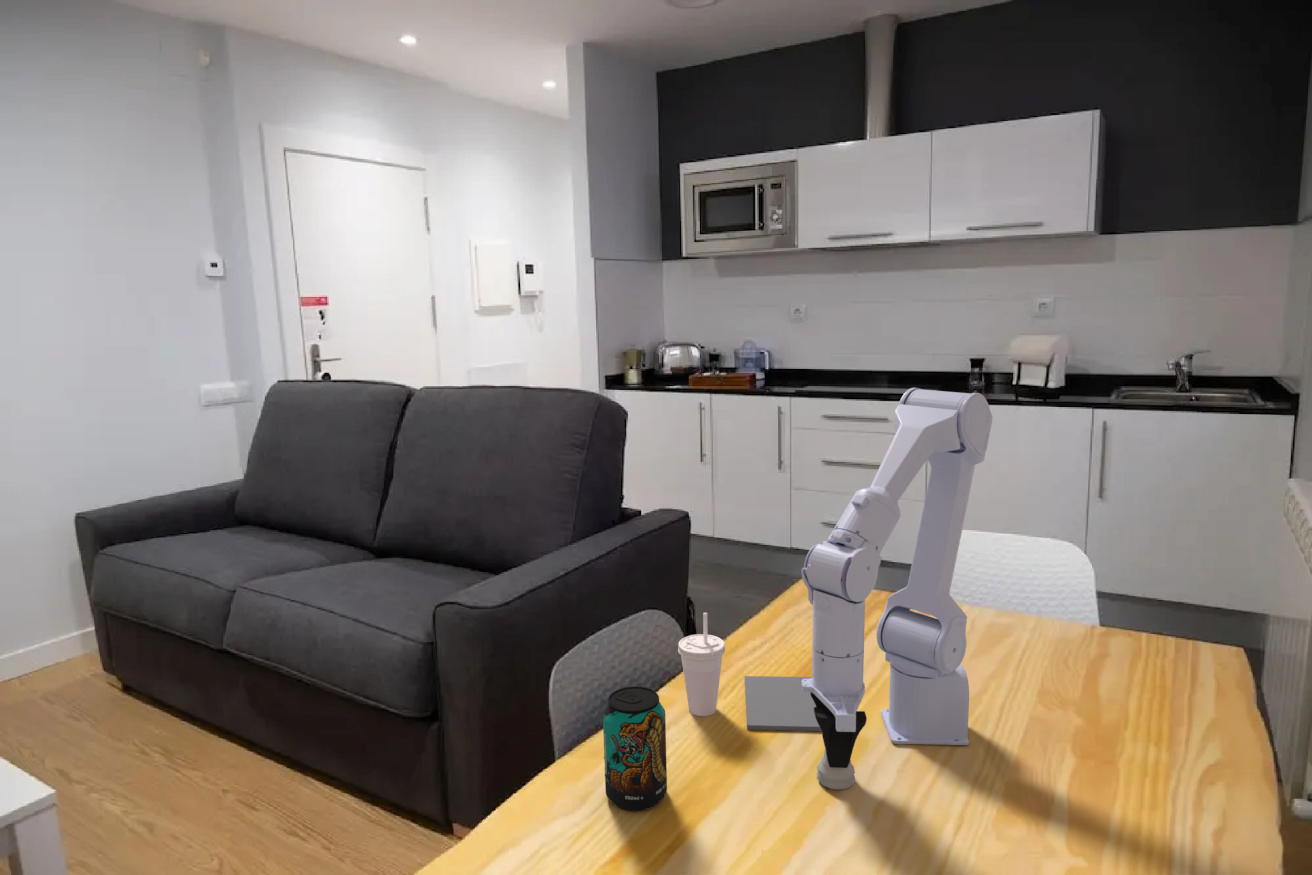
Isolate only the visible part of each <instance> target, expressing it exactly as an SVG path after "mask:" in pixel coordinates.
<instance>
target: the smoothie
mask: <svg viewBox="0 0 1312 875" xmlns="http://www.w3.org/2000/svg"><path fill="white" fill-rule="evenodd" d="M702 614H703V615H702V616H703V618H702V622H703V623H702V624H703V625H702V627H703V630H702V631H703V634H702V633H698V634H690V635H688V636H685V637H683V638H681V639H680V640H679V641H678V650H677V651H678V654H679V655H680V656H681V666H682V670H683V678H684V684H685V692H686V697H687V698H686V699H687V705H688V711H689V713H691V715H693V716H697V717H708V716H711V715H713V714H714V713H715V712H716V711H717V704H718V696H719V689H720V688H719V686H720V678H721V672H722V671H721V670H722V665H723V664H722V662H723V656H724V653H726V644H725V641H724V640H723V639H722V638H720V637H718V636H716V635H712V634H708V612H703V613H702Z"/></svg>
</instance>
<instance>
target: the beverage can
mask: <svg viewBox="0 0 1312 875" xmlns="http://www.w3.org/2000/svg"><path fill="white" fill-rule="evenodd" d="M602 728H603V729H602V730H603V752H604V753H603V754H604V758H603V759H604V782H605V787H604V788H605V794H606V798H607V799H608V800H609V801H610V802H611V803H613V805H615V806H616V808H619V809H621V810H625V811H630V812H639V811H640V812H641V811H646V810H649V809H651V808H653V807H655V806H657V805H658V804H659V803H660V802H661V801H662V800H663V799H664V797H665V796H666V794H667V790H668V775H667V774H668V773H667V772H668V770H667V731H666V711H665V708H664V706H663V705H662V703H661V702H660V695H659V694H658V693H657V692H656V691H655V690H653V689H651V688H648V687H644V686H627V687H622V688H618V689H616V690H614V691H613V692H611V693H610V695H609V696H608V699H607V704H606V706H605V708H604V710H603V713H602Z"/></svg>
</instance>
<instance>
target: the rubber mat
mask: <svg viewBox="0 0 1312 875" xmlns="http://www.w3.org/2000/svg"><path fill="white" fill-rule="evenodd" d="M810 678H812V676H772V675H771V676H768V675H767V676H765V675H763V676H761V675H759V676H758V675H744V690H745V691H744V692H745V710H746V711H745V714H746V729H747V730H752V731H753V730H756V731H757V730H759V731H798V732H799V731H802V732H806V731H808V732H822V730H821V728H820V726H819V724H818V722H817V720H816V718H815V713H814V707H816V705H815V703H814V701H813V699H812V697H811V694H810V692H804V691H803V690H802V679H810Z"/></svg>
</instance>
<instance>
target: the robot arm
mask: <svg viewBox="0 0 1312 875" xmlns="http://www.w3.org/2000/svg"><path fill="white" fill-rule="evenodd" d="M992 414H993V413H992V412H991V409H990V405H989V403H988V401H987V398H986V397H985V396H984V395H983V394H982V393H979V392H972V393H967V392H955V391H945V390H944V391H943V390H934V389H933V390H932V389H922V388H919V387H911V388H909V389H907V390H906V391H905V392H904V393H903V395H902V396H901V398H900V400H899V402H898V405H897V407H896V409H895V410H894V416H893V417H894V418H893V419H894V427H895V434H894V436H893V438H892V440H891V441H890V444H889V447H888V448H887V451H886V453H885V455H884V457H883V458H882V459H883V460H882V461H881V463H880V465H879V467H878V470H877V471H876V474H875V476H874V478H873V480H872V482H871V484H870V486H869V487H865V488H861V489H859V490H856V492H855V493H854V495H853V496H852V497H851V498H850V501H849V503H848V504H847V505H846V507H845V509H844V511H843V512H842V515H841V516H840V517H839V519H838V521H837V523H836V524H835V526H834V528H833V529H832V530H831V533H830V534H829V536H828V537H827V539H826V540H823V541H821V542H820V543H817V544H815V545H813V546H812V547H811V548H810V549H809V551H808V552H807V554H806V557H805V560H804V564H803V568H801V571H800V572H801V578H802V581H803V583H804V585H805V586H806V588H807V592H808V596H807V597H808V601H809V604H811V606H812V638H811V640H812V649H811V651H812V658H811V660H812V663H811V664H812V665H811V666H812V667H811V677H812V678H810V679H802V690H803V691H804V692H810V694H811V697H812V699H813V701H814V703H815V705H816V707H814V713H815V718H816V720H817V722H818V724H819V726H820V728H821V730H822V731H821V735H822V739H823V740H822V741H823V744H824V749H825V748H826V755H827V760H828V764H829V767H831V768H847V767H848V765H849V762H850V760H851V758H852V755H853V754H852V753H853V750H854V746H855V743H856V741H857V738H858V736H859V734H860V732H861V731H862V729H863V728H865V726H866V724H867V715H866V712H865V710H858V709H859V707H860V704H861V702H862V700H863V698H864V695H865V690H866V685H865V682H864V667H865V666H864V661H865V660H864V659H865V658H864V657H865V656H864V655H865V626H866V625H865V620H866V619H865V617H866V616H865V615H866V614H865V613H866V611H865V610H866V599H867V598H868V597H869V595H870V594H871V593H872V591H873V590H874V589H875V586H876V584H877V581H878V574H879V567H880V565H881V563H882V561H881V560H882V556H881V555H880V554H881V551H882V550H883V549H884V546H885V545H886V544H887V541H888V539H889V537H890V536H891V534H892V533H893V530H894V529H895V528H896V526H897V525H898V524H897V523H898V522H899V520H900V519H901V516H902V515H901V510H900V507H899V503H898V502H899V501H900V499H901V497H903V494H904V493H905V492H906V490H907V489H908V487H909V486H910V484H911V483H912V482H913V480H914V479H915V477H916V476H917V474H918V473H919V472H920V470H921V469H922V467H923V466H924V464H925V463H926V462H927V461H928V463H929V465H930V473H929V478H928V482H927V488H926V493H925V497H924V502H923V507H922V513H921V517H920V523H919V526H918V531H917V532H918V533H917V536H916V542H915V546H914V553H913V557H912V560H911V561H912V562H911V567H910V571H909V577H908V581H907V585H906V587H903V588H901V589H899V590H898V591H895V592H894V593H892V594H890V595H889V596H888V597H887V601H886V604H885V608H884V610H883V612H882V615H880V618H879V620H878V623H877V626H876V633H875V634H876V642H877V644H878V648H879V649H880V651H882V652H884V653H885V656H884V657H885V661H886V662H888V663H889V664H890V667H889V668H890V670H889V693H888V694H889V696H888V697H889V698H888V699H889V703H888V709H887V708H883V709H881V710H880V714H881V717H882V719H883V723H884V726H885V728H886V730H887V734H888V736H889V739H890V742H891V743H893V744H895V745H896V744H898V745H901V744H903V745H910V744H911V745H937V746H938V745H939V746H940V745H943V746H945V745H946V746H968V745H970V741H969V739H968V732H969V713H970V712H969V711H970V710H969V709H970V684H969V680H968V675H967V674H968V673H967V670H966V669H965V667H964V666H963V665H962V662H963V661H964V658H965V655H966V650H967V635H966V633H967V631H966V630H967V629H966V628H967V620H968V616H967V614H966V613H965V611H963V609H962V607H960V606H959V604H958V603H957V602H956V601H955V599H953V597H952V596H951V594H950V593H951V588H952V583H953V577H954V573H955V568H956V562H957V559H958V558H957V557H958V552H959V547H960V543H961V538H962V532H963V527H964V523H965V517H966V514H967V513H966V512H967V507H968V503H969V498H970V494H971V487H972V484H973V477H974V474H975V467H976V465H978V464H981V463H983V462H984V461H985V456H986V452H987V450H988V444H989V438H990V434H991V429H992V424H993V415H992ZM912 610H913V611H912ZM915 611H916V612H915ZM925 614H926V615H925Z"/></svg>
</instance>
